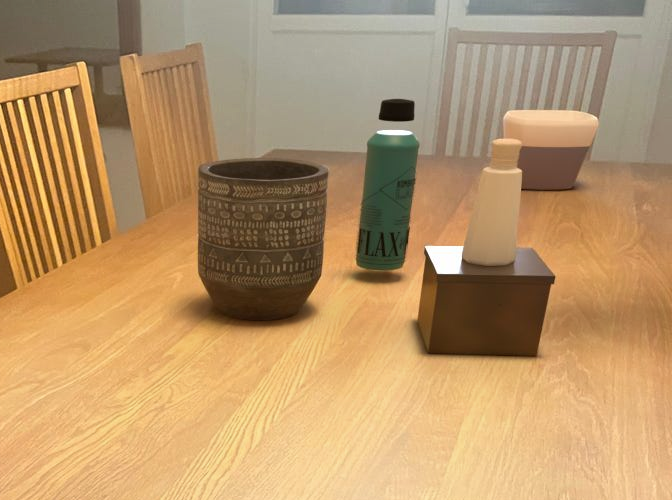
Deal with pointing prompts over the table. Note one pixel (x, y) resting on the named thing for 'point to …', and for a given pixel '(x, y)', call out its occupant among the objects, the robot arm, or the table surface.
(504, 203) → the cream bottle
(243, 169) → the planter
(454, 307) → the walnut box
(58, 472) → the table surface
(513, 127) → the bowl
